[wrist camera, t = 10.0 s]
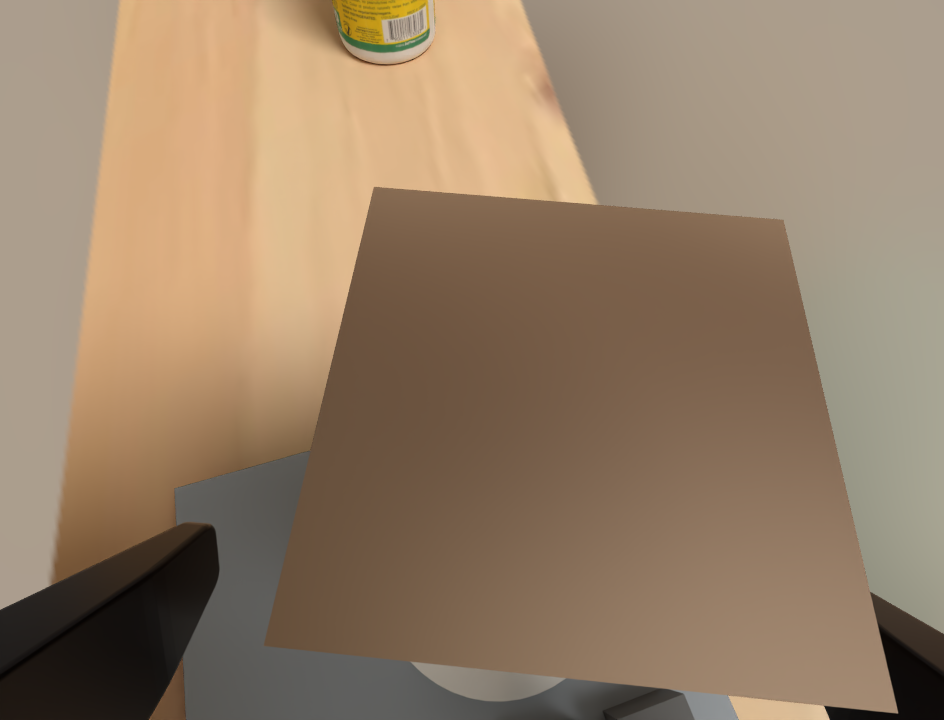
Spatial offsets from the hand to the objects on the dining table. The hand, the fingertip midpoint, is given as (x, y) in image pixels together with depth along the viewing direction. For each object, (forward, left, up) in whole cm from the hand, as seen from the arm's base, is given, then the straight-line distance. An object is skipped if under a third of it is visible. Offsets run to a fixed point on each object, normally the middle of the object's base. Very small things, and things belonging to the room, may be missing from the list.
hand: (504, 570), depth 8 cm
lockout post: (+1, 0, -8) cm, 8 cm away
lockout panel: (0, +1, -9) cm, 9 cm away
